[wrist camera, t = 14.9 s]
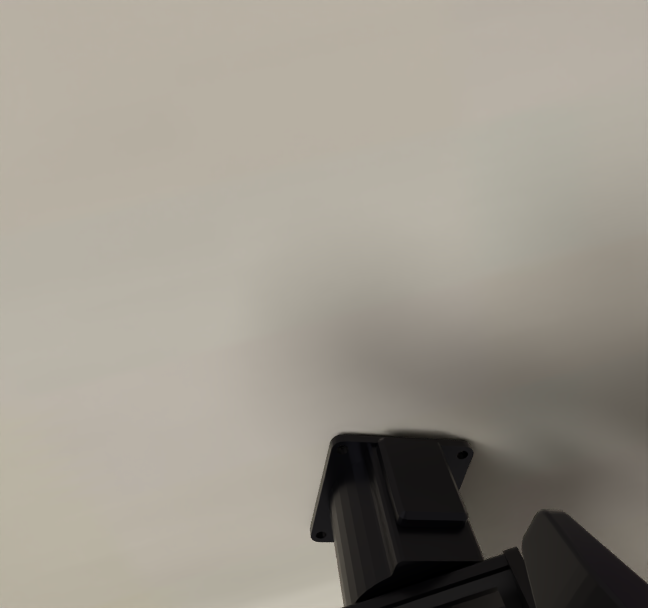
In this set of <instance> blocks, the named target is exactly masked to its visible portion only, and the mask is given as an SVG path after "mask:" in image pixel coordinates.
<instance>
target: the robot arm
mask: <svg viewBox="0 0 648 608" xmlns="http://www.w3.org/2000/svg"><path fill="white" fill-rule="evenodd" d="M343 445H344V447H341V448H340V446H343ZM461 451H463V452H461ZM459 452H460V453H459ZM472 457H473V450H472V448H471V446H470V444H469V443H468V442H467V441H463V440H444V439H424V438H403V437H382V436H361V435H338V436H336V437H334V438H333V439H332V440H331V442H330V445H329V449H328V454H327V458H326V462H325V466H324V471H323V475H322V479H321V483H320V488H319V492H318V496H317V500H316V505H315V509H314V513H313V517H312V522H311V526H310V533H311V538H312V540H314V541H316V542H334V544H335V551H336V558H337V564H338V571H339V577H340V584H341V590H342V597H343V604H344V607H342V608H648V584H647V583H646V582H645V581H644V580H643V579H642V578H640V577H639V576H638V575H637V574H636V573H635V572H634V571H632V570H631V569H630V568H629V567H628V566H627V565H625V564H624V563H623V562H622V561H621V560H620V559H619V558H617V557H616V556H615V555H614V554H613V553H612V552H610V551H609V550H608V549H607V548H606V547H605V546H604V545H602V544H601V543H600V542H599V541H598V540H597V539H595V538H594V537H593V536H592V535H591V534H590V533H589V532H587V531H586V530H585V529H584V528H583V527H582V526H580V525H579V524H578V523H577V522H576V521H575V520H574V519H572V518H571V517H570V516H569V515H568V514H566V513H565V512H563V511H561V510H550V509H542V510H540V511H538V512H537V514H536V515H535V517H534V519H533V521H532V523H531V524H530V526H529V528H528V530H527V531H526V533H525V535H524V537H523V540H522V554H523V558H524V560H523V558H522V556H521V554H520V552H519V550H518V548H517V547H514V548H511V549H508V550H505V551H503V553H504V554H501V555H498V556H495V557H492V558H489V559H486V560H484V557H483V555H482V552H481V550H480V547H479V545H478V542H477V540H476V537H475V535H474V532H473V530H472V527H471V525H470V522H469V520H468V513H467V510H466V508H465V505H464V503H463V500H462V498H461V495H460V493H459V489H460V487H461V484H462V482H463V479H464V477H465V474H466V472H467V469H468V467H469V464H470V462H471V459H472Z"/></svg>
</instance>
